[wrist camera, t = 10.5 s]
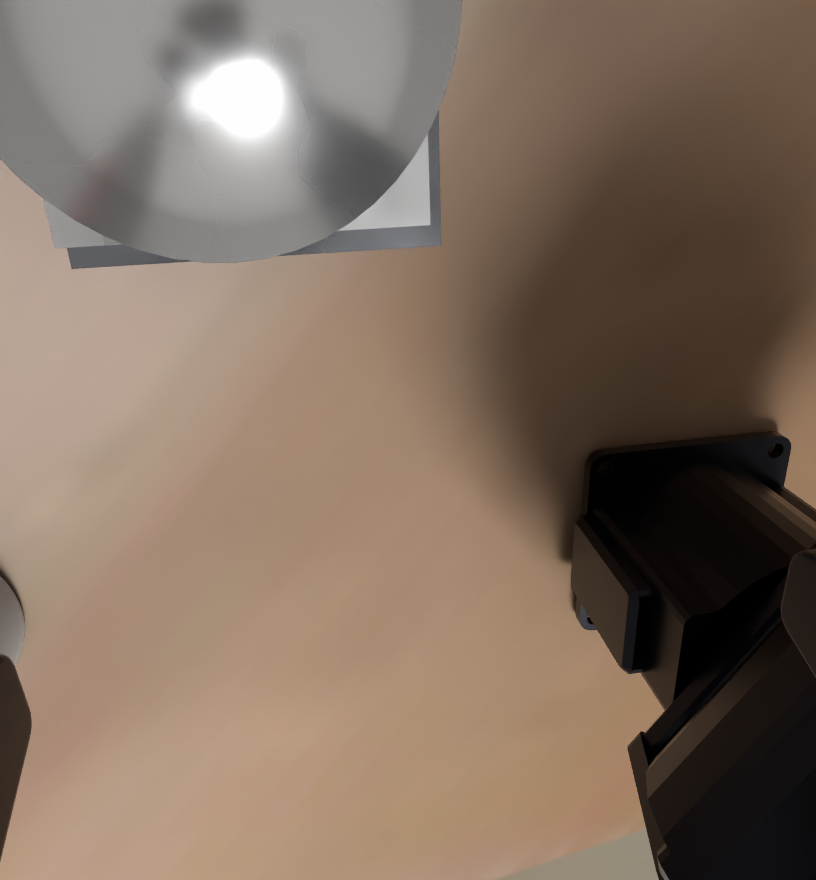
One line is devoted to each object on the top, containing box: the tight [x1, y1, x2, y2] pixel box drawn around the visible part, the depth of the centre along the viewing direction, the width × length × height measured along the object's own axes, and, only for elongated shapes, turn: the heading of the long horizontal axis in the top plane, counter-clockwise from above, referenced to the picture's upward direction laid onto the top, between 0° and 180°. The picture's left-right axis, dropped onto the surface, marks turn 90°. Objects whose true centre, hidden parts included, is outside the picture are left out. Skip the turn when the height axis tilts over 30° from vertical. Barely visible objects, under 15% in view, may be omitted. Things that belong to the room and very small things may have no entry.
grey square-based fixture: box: [0, 0, 462, 263], centre depth 11 cm, size 6×6×6 cm
